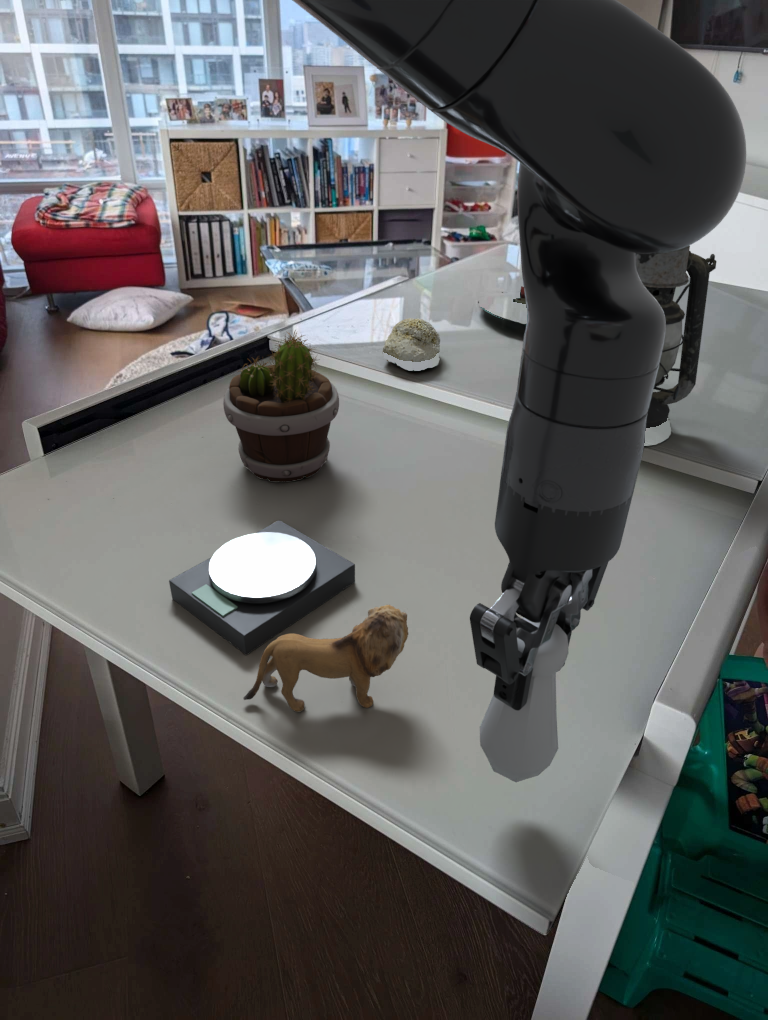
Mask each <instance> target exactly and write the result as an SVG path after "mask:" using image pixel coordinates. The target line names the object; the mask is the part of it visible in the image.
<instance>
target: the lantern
mask: <svg viewBox="0 0 768 1020" xmlns="http://www.w3.org/2000/svg"><path fill="white" fill-rule="evenodd" d="M690 249H691V245H689V246H687V247H685V248H682V249H680V250H677V251H673V252H669V253H662V254H639V253H635V259H636V269H637V273H638V275H639V278H640V280H641V281H642V283H643V285H644V286H645V287H646V289H647V290H648V291H649V292H650V293H651V294H652V295H653V296H654V298H655V299H656V300H657V301H658V303H659V304H660V305H661V307H662V309H663V311H664V314H665V319H666V332H665V339H664V345H663V350H662V355H661V359H660V364H659V368H658V372H657V376H656V381H655V385H654V389H653V390H656V391H653V393H652V397H651V401H650V405H649V409H648V414H647V420H646V428H650V427H656V426H659V425H661V424H662V423H664V422H666V421H667V418H669V415H670V412H671V410H670V406H669V405H671V404H676V403H678V402H680V401H682V400H684V399H685V398H686V397H688V396H689V394H691V392H692V391H693V390H694V388H695V386H696V384H697V383H696V382H697V375H698V368H699V360H700V352H701V345H702V335H703V330H704V329H703V328H704V322H705V321H704V320H705V312H706V303H707V297H708V289H709V281H710V274H711V272H713V271H714V270H716V268H717V260H716V259H715V258H716V255H715V253H711V254H710V255H709V257H707V258H704V257H702V256H700V255H698V254H696V253H693V252H692V251H691V250H690ZM683 286H684V288H683V290H682V291H681V292H680V294H679V296H678V297H677V299H676V301H674V297H675V293H676V288H678V287H679V288H680V287H683ZM687 290H688V291H687ZM686 292H688V293H687V301H686V308H685V309H686V310H683V308H681V306H680V304H679V302H680V301H681V299H682V297H683V296H684V295H685V293H686ZM683 320H684V328H683ZM681 345H682V346H681ZM680 347H681V354H680V364H679V368H677V367H674V366H675V364H676V361H677V357H678V354H679V350H680ZM670 372H678V379H677V384H676V385H674V386H673V387H671V388H663V387H659V386H661V385H663V384H664V383H665V381H666V380H668V379H669V373H670Z"/></svg>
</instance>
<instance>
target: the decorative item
mask: <svg viewBox="0 0 768 1020" xmlns="http://www.w3.org/2000/svg"><path fill="white" fill-rule="evenodd" d="M440 343H441V338H440V334H439V333H438V331H437V330H436V328H435V327H434V326H433V325H432V324H431V323H430V322H428V321H426V320H425V319H422V318H413V317H410V318H405V319H402V320H400V321H398V322H397V323H395V325H394V326H393V327H392V329H391V333H389V335H388V336H387V338H386V339H385V342H384V345H383V347H382V353H383V352H384V353H387V354H388V355H391V356H393V357H395V358H397V359H399V360H403V361H412V362H421V361H425V360H430V359H432V358H434V357H435V356H436V354H437V353H439V352H440V351H441V348H440V347H441V345H440ZM440 353H441V352H440Z"/></svg>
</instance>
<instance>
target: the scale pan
mask: <svg viewBox="0 0 768 1020" xmlns="http://www.w3.org/2000/svg"><path fill="white" fill-rule="evenodd" d="M211 557H212V558H211ZM211 557H210V558H211V560H210V562H209V567H208V571H209V578H210V581H211V583H212V585H213V587H214V588H215V589H216V590H217V591H218V592H219V593H221V594H222V595H224V596H225V597H227V598H230V599H232V600H235V601H239V602H244V603H254V604H261V603H271V602H276V601H280V600H283V599H286V598H289V597H291V596H293V595H295V594H297V593H299V592H300V591H302V590H303V589H304V588H305V587H307V586H308V585H309V583H310V582H311V581H312V579H313V578H314V576H315V573H316V568H317V566H316V556H315V553H314V552H313V550H312V549H311V547H310V546H309V545H308V544H307V543H305V542H304V541H302V540H301V539H299V538H297V537H294V536H292V535H288V534H284V533H277V532H259V533H256V532H253V533H248V534H244V535H240V536H238V537H235V538H233V539H231V540H229V541H227V542H225V543H223V545H221V546H220V547H219V548H217V550H215V552H214V553H213V554H212V556H211Z"/></svg>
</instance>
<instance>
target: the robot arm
mask: <svg viewBox="0 0 768 1020" xmlns="http://www.w3.org/2000/svg"><path fill="white" fill-rule="evenodd" d="M291 1H292V2H294V3H295V4H296V5H297V6H299V7H300V8H301V9H303V10H304V11H305V12H306V13H308V14H309V15H310V16H312V18H314V19H315V20H317V21H318V22H319V23H320V24H322V25H323V26H324V27H325V28H327V29H328V30H329V31H331V32H332V33H333V34H334V35H336V37H338V39H340V40H341V41H342V42H344V43H345V44H346V45H348V46H349V47H350V48H351V49H353V50H354V51H355V52H356V53H358V54H359V55H360V56H361V57H362V58H364V60H366V61H367V62H369V63H370V64H371V65H372V66H374V67H376V69H378V71H380V73H382V74H383V75H385V76H386V77H387V78H389V79H390V80H391V81H392V82H393V83H394V84H396V85H397V86H398V87H400V88H401V89H402V90H404V91H405V92H406V93H407V94H408V95H410V96H411V97H412V98H413V99H415V100H416V101H417V102H418V103H419V104H421V105H422V106H423V107H425V108H427V110H429V112H431V113H433V114H434V115H435V116H437V117H438V118H439V119H441V120H443V121H444V122H445V123H446V124H448V125H450V126H451V127H453V128H454V129H456V130H458V131H459V132H462V133H463V134H465V135H467V136H469V137H470V138H473V139H475V140H477V141H480V142H483V143H484V144H487V145H490V146H492V147H494V148H496V149H498V150H500V151H502V152H503V153H506V154H507V155H509V156H510V157H511V158H513V159H514V160H516V161H517V162H519V164H518V165H519V166H518V176H517V192H516V193H517V197H516V199H517V219H518V221H517V222H518V223H517V224H518V236H519V248H520V249H519V251H520V263H521V265H520V266H521V277H522V278H521V279H522V284H523V285H522V286H523V287H524V292H525V299H526V308H527V324H526V325H525V330H524V334H523V341H522V349H521V355H520V363H519V370H518V378H517V384H516V386H517V387H516V393H515V397H514V401H513V406H512V409H511V413H510V415H509V420H508V423H507V427H506V433H505V439H504V449H503V455H502V465H501V470H500V471H501V472H500V479H499V488H498V495H497V503H496V510H495V518H494V530H495V535H496V537H497V539H498V541H499V542H500V544H501V546H502V548H503V550H504V551H505V553H506V555H507V557H508V561H509V562H508V564H507V568H506V570H505V573H504V575H503V578H502V580H501V583H500V584H501V585H500V589H501V593H502V594H501V595H500V596H499V597H498V599H496V601H495V602H494V603H493V604H492V606H491V607H488V606H487V605H484V604H483V603H480V602H478V603H477V604H476V605H475V606H474V607H473V608H472V610H471V611H470V614H469V624H470V629H471V635H472V641H473V642H472V643H473V649H474V655H475V660H476V665H477V666H479V667H480V668H481V669H484V670H487V671H489V672H490V673H492V674H493V675H495V680H494V686H493V694H494V697H495V698H497V699H498V700H500V701H502V702H503V703H505V704H506V705H508V706H509V707H511V708H513V709H514V710H517V711H519V710H520V709H521V708H522V707H523V706H524V705H525V704H526V703H527V698H528V693H529V687H530V682H531V677H532V671H533V664H534V661H535V659H536V656H537V653H538V650H539V647H540V646H542V645H543V644H545V643H547V642H549V640H550V638H551V636H552V633H553V630H554V627H555V624H557V625H558V626H560V627H561V629H562V630H563V631H564V632H565V634H566V635H567V638H568V648H569V646H570V641H571V638H572V633H573V631H574V630H575V629H577V627H578V626H579V625H580V622H581V616H582V615H581V614H582V613H581V612H582V610H585V611H587V612H588V611H589V610H591V608H592V607H593V606H594V604H595V601H596V597H597V594H598V592H599V589H600V587H601V584H602V581H603V578H604V575H605V573H606V570H607V567H608V565H609V562H610V561H611V560H613V559H614V557H615V556H616V555H617V554H618V552H619V550H620V547H621V545H622V542H623V537H624V532H625V528H626V525H627V521H628V517H629V513H630V508H631V504H632V499H633V495H634V492H635V488H636V483H637V480H638V475H639V471H640V468H641V462H642V459H643V453H644V449H645V447H644V443H645V431H646V420H647V414H648V409H649V405H650V401H651V397H652V393H653V392H654V390H655V389H654V385H655V381H656V376H657V372H658V368H659V364H660V359H661V355H662V350H663V345H664V339H665V332H666V319H665V314H664V311H663V309H662V307H661V305H660V304H659V303H658V301H657V300H656V299H655V298H654V296H653V295H652V294H651V293H650V292H649V291H648V290H647V289H646V287H645V286H644V285H643V283H642V281H641V280H640V278H639V275H638V273H637V269H636V259H635V253H639V254H662V253H669V252H673V251H677V250H680V249H682V248H685V247H687V246H689V245H690V246H692V245H693V244H695V243H697V242H698V241H700V240H702V239H703V238H705V237H706V236H707V235H708V234H709V233H711V232H712V231H713V230H714V229H715V228H717V226H718V225H719V224H721V222H722V221H723V220H724V219H725V217H727V215H728V214H729V212H730V210H731V209H732V208H733V205H734V204H735V202H736V200H737V199H738V196H739V193H740V191H741V188H742V185H743V182H744V178H745V173H746V167H747V165H746V164H747V142H746V133H745V129H744V125H743V122H742V118H741V116H740V114H739V111H738V109H737V106H736V105H735V103H734V101H733V99H732V98H731V97H732V96H731V95H730V94H729V92H728V91H727V90H726V89H725V87H724V86H723V85H722V83H721V82H720V81H719V80H718V78H717V77H716V76H715V75H714V74H713V73H712V72H711V71H710V70H709V69H708V68H707V67H706V66H705V65H704V64H703V63H701V61H699V60H698V59H697V58H696V57H695V56H693V55H692V54H691V53H689V51H687V50H686V49H685V48H684V47H682V46H681V45H679V44H678V43H677V42H676V41H674V40H673V39H672V38H671V37H669V36H667V35H666V34H665V33H663V32H662V31H661V30H659V29H658V28H657V27H655V25H652V24H651V22H649V21H648V20H646V19H644V18H643V17H642V16H640V15H639V14H638V13H637V12H635V11H634V10H633V9H631V8H630V7H628V6H626V5H625V4H623V3H622V2H621V1H619V0H291ZM522 618H526V619H528V620H529V621H531V622H534V623H540V625H539V628H538V627H536V626H534V625H533V624H531V623H529V622H527V621H525V620H524V619H522ZM517 638H519V639H521V640H522V641H523V642H524V643H525V648H524V651H523V653H522V652H521V651H519V650H518V642H517ZM565 664H566V662H565V663H564V665H563V667H564V666H565Z"/></svg>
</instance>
